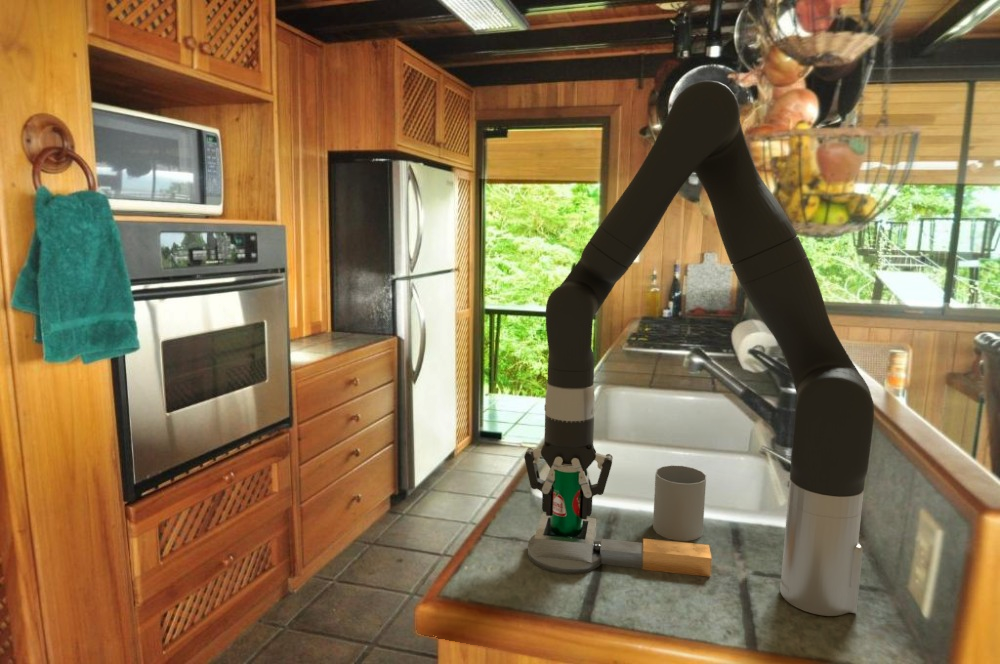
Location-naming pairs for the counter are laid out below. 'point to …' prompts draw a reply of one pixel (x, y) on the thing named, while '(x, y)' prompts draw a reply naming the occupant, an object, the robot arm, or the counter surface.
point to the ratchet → (613, 552)
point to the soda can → (566, 502)
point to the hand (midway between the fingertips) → (566, 515)
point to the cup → (679, 502)
